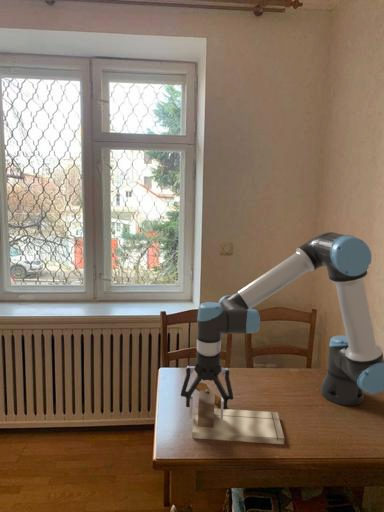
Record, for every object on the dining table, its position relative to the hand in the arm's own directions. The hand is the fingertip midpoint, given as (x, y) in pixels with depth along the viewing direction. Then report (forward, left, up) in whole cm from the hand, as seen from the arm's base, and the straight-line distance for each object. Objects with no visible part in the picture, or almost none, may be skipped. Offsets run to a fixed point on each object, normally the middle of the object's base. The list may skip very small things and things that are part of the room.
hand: (206, 416), depth 124 cm
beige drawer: (0, 0, -1) cm, 1 cm away
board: (-10, 0, -3) cm, 10 cm away
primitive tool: (0, -19, -4) cm, 19 cm away
